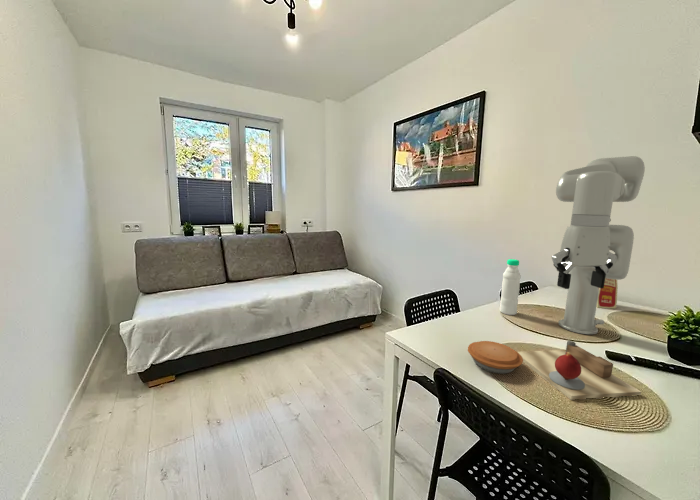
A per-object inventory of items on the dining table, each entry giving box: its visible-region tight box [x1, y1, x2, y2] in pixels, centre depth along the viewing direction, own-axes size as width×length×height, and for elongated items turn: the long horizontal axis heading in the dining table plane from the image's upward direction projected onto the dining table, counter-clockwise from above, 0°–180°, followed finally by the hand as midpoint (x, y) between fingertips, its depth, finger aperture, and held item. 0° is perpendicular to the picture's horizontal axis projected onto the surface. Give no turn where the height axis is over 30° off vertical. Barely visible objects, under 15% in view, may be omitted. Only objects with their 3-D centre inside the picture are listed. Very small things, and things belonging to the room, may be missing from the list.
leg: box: [565, 340, 613, 378], centre depth 87 cm, size 13×2×4 cm, turn 7°
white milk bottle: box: [499, 258, 522, 316], centre depth 131 cm, size 7×7×25 cm
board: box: [517, 349, 642, 401], centre depth 85 cm, size 20×22×1 cm
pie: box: [467, 340, 524, 375], centre depth 90 cm, size 15×16×5 cm
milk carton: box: [596, 278, 619, 310], centre depth 142 cm, size 9×9×20 cm
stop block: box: [597, 356, 614, 376], centre depth 84 cm, size 2×4×4 cm, turn 5°
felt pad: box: [549, 371, 585, 390], centre depth 80 cm, size 8×8×1 cm
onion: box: [555, 352, 581, 380], centre depth 79 cm, size 6×6×8 cm
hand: (580, 287), depth 75 cm, fingers open, 9 cm apart
